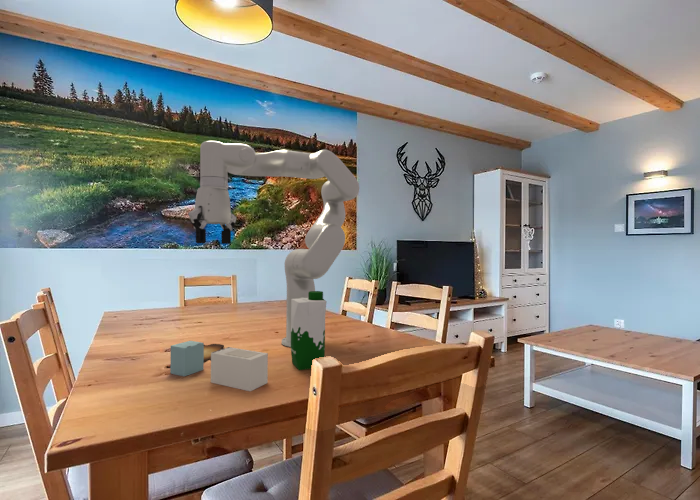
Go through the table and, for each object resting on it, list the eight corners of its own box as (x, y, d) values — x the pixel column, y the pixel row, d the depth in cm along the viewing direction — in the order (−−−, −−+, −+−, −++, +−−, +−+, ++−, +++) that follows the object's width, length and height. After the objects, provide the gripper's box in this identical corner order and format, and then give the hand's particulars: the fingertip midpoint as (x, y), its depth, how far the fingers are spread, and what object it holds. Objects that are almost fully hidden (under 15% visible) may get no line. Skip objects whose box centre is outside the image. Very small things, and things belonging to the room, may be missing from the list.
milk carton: (328, 367, 101) (329, 293, 101) (295, 372, 97) (296, 294, 97) (318, 358, 109) (318, 289, 109) (287, 362, 105) (288, 291, 105)
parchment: (200, 345, 124) (200, 342, 124) (230, 344, 124) (230, 342, 124) (163, 370, 99) (162, 367, 99) (200, 370, 99) (200, 367, 99)
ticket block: (229, 374, 94) (229, 346, 94) (267, 382, 89) (267, 352, 89) (210, 382, 89) (210, 352, 89) (250, 391, 84) (250, 359, 84)
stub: (189, 366, 101) (190, 340, 101) (203, 369, 98) (203, 342, 98) (170, 373, 95) (170, 345, 95) (184, 376, 93) (184, 347, 93)
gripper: (226, 189, 120) (225, 243, 120) (180, 181, 104) (180, 243, 104) (244, 188, 116) (244, 243, 116) (199, 179, 101) (199, 243, 101)
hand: (213, 243), depth 110 cm, fingers open, 9 cm apart
